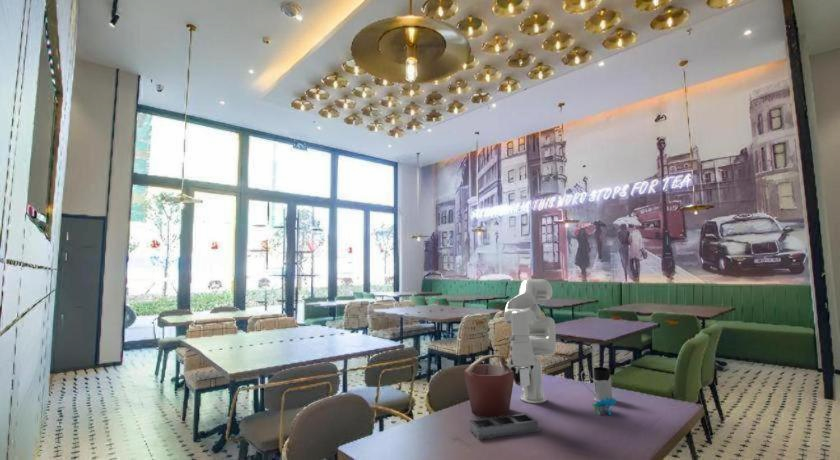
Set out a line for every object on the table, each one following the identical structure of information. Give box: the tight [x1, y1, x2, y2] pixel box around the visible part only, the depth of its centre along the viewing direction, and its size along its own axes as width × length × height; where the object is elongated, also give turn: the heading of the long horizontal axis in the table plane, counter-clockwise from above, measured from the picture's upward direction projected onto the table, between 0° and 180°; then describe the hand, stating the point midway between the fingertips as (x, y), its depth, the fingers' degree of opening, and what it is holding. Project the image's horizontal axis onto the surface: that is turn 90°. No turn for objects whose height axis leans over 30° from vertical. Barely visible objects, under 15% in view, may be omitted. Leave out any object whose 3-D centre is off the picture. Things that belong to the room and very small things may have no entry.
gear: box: [591, 397, 617, 416], centre depth 177 cm, size 11×6×10 cm
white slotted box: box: [514, 366, 530, 387], centre depth 172 cm, size 4×4×7 cm
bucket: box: [463, 354, 515, 418], centre depth 184 cm, size 24×22×25 cm
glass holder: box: [580, 366, 613, 402], centre depth 196 cm, size 9×14×15 cm, turn 74°
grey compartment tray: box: [469, 413, 539, 440], centre depth 160 cm, size 26×9×4 cm, turn 105°
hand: (522, 381), depth 172 cm, fingers closed on white slotted box, 4 cm apart
